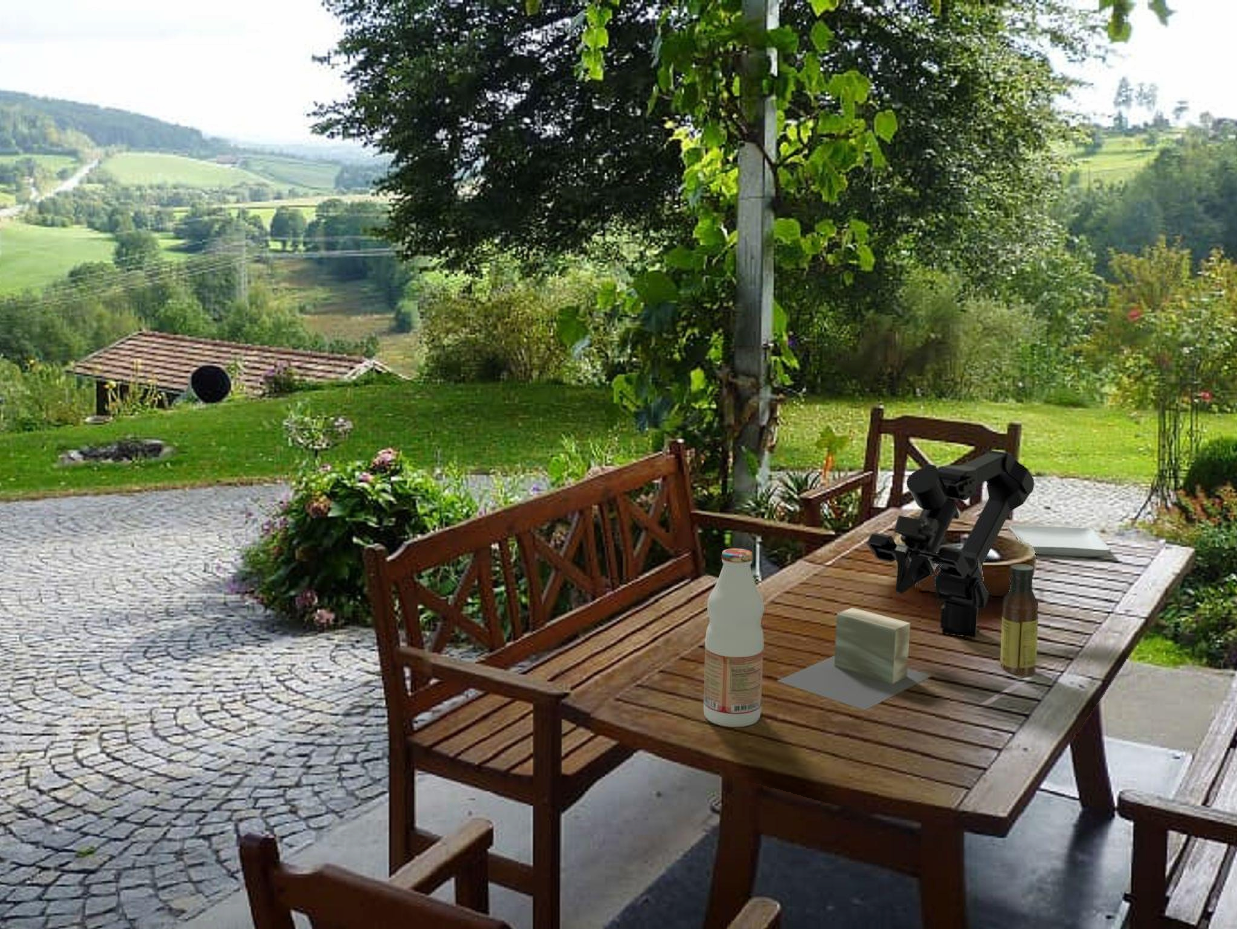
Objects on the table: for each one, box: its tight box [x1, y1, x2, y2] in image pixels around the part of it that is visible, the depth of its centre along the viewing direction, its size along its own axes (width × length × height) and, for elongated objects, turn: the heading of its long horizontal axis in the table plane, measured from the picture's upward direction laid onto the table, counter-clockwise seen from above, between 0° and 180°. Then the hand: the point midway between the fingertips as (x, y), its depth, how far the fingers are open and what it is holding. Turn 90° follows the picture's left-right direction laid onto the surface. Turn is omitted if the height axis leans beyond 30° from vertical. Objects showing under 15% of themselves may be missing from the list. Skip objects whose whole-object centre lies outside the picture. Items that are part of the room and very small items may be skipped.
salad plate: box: [1008, 524, 1111, 558], centre depth 298 cm, size 21×21×3 cm
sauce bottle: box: [999, 563, 1039, 677], centre depth 211 cm, size 6×6×20 cm
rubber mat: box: [776, 655, 932, 711], centre depth 208 cm, size 22×18×1 cm
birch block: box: [834, 607, 911, 684], centre depth 210 cm, size 5×12×10 cm, turn 46°
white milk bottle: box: [703, 547, 765, 728], centre depth 189 cm, size 9×9×28 cm
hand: (898, 592), depth 214 cm, fingers closed
